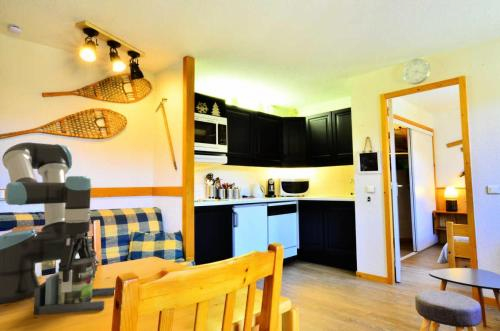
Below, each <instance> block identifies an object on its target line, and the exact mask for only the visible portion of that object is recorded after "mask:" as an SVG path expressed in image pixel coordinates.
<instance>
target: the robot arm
mask: <svg viewBox="0 0 500 331" xmlns="http://www.w3.org/2000/svg"><path fill="white" fill-rule="evenodd" d="M1 160H2V165H3V166H4V168H5V169H7V171H8V175H9V179H10V180H9V181H10V182H8V183H6V187H5V202H6V204H7V205H9V206H14V205H15V206H26V205H28V206H29V205H43V207H44V208H43V209H44V219H45V221H44V222H45V224H44V225H43V226H41V231H38V230H37V228H25V229H18V230H14V231H9V232H6V233H3V234H1V235H0V304H6V303H8V304H9V303H14V302H17V301H18V302H20V301H22V300H27V299H29V298H32V297H34V290H35V288H36V287H38V286H39V285H41V284H40V281H39V279H38V275H37V273H36V264H41V263H46V262H54V261H59V263H60V264H59V263H58V269H57V272H58V271H59V272H62V285H61V292H71V291H72V270H71V267H72V264H73V261H74V259H76V258H75V257H76V256H77V255H78V256H79V257H80V258H91V256H90V249H89V248H90V242H89V232H90V225H91V224H90V223H91V222H90V221H89V220H90V214H92V211H91V191H92V190H91V188H92V184H91V180H92V179H91V177H90V176H87V175H85V176H83V175H74V176H73V175H69V176H67V177H66V174H68V172H69V170H71V169H72V166H73V165H72V164H73V161H72V160H73V156H72V152H71V149H70V148H69V147H68V146H67V145H64V144H63V145H62V144H58V143H55V144H53V143H52V144H51V143H39V142H31V141H30V142H28V141H27V142H20V143H17V144H14V145H12V146H10V147H9V148H7V149H6V151H5V152H4V153H3V154H2V159H1ZM34 170H37V174H38V175H39V176H41V180H42V181H41V182H40V181H38V178H37V176H36V174H35V171H34ZM79 257H78V258H79Z"/></svg>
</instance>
